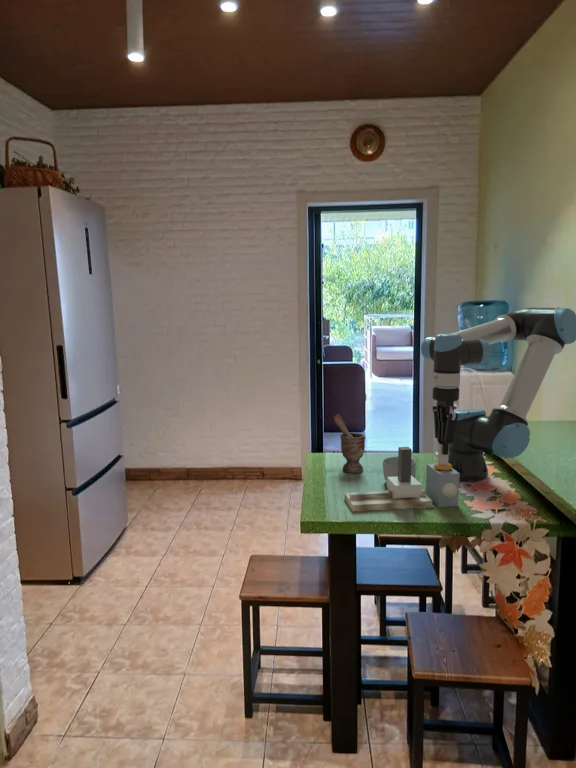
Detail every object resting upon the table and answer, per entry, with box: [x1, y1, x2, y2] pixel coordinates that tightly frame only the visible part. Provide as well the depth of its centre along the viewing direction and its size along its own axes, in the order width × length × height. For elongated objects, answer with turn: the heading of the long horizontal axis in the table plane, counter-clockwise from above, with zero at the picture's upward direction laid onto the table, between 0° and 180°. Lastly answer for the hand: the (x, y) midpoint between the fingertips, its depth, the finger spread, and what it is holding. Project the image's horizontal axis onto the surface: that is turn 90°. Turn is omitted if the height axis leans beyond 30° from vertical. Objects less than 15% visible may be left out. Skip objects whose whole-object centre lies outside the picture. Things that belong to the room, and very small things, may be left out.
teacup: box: [381, 456, 417, 482], centre depth 178 cm, size 14×11×8 cm
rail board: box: [344, 488, 434, 513], centre depth 159 cm, size 24×10×4 cm, turn 97°
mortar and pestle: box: [332, 413, 366, 474], centre depth 190 cm, size 12×9×20 cm
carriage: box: [386, 446, 423, 498], centre depth 158 cm, size 8×8×14 cm
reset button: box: [433, 461, 452, 471], centre depth 160 cm, size 5×5×7 cm
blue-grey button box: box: [425, 463, 460, 508], centre depth 160 cm, size 6×10×10 cm, turn 7°
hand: (442, 463), depth 160 cm, fingers closed
